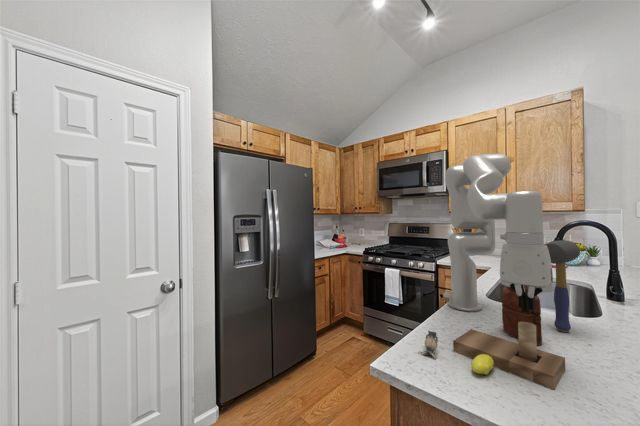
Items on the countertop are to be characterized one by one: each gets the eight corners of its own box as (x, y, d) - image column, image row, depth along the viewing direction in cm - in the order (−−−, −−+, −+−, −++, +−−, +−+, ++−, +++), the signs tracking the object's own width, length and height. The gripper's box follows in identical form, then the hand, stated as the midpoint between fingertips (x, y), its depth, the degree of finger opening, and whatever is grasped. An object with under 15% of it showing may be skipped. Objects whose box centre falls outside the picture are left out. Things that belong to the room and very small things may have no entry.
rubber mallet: (569, 340, 80) (566, 242, 81) (540, 331, 87) (537, 240, 87) (585, 330, 86) (582, 240, 87) (556, 322, 93) (553, 238, 93)
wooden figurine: (550, 343, 79) (548, 283, 79) (538, 347, 76) (536, 286, 77) (509, 328, 90) (508, 275, 90) (497, 331, 87) (495, 277, 87)
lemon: (499, 370, 66) (498, 354, 66) (483, 381, 62) (483, 365, 62) (481, 362, 70) (481, 347, 70) (465, 373, 65) (465, 357, 65)
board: (453, 351, 75) (453, 340, 76) (471, 338, 83) (471, 329, 83) (554, 389, 58) (553, 376, 58) (565, 369, 66) (564, 357, 66)
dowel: (517, 367, 67) (516, 324, 67) (521, 362, 69) (520, 320, 69) (535, 373, 64) (533, 328, 64) (539, 368, 66) (537, 324, 66)
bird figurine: (424, 346, 79) (426, 326, 79) (443, 354, 75) (444, 333, 75) (417, 353, 75) (418, 332, 75) (436, 361, 71) (437, 340, 71)
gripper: (486, 239, 71) (488, 307, 70) (560, 242, 59) (563, 324, 58) (496, 237, 75) (498, 301, 75) (567, 240, 63) (570, 316, 63)
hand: (527, 311), depth 67 cm, fingers closed
